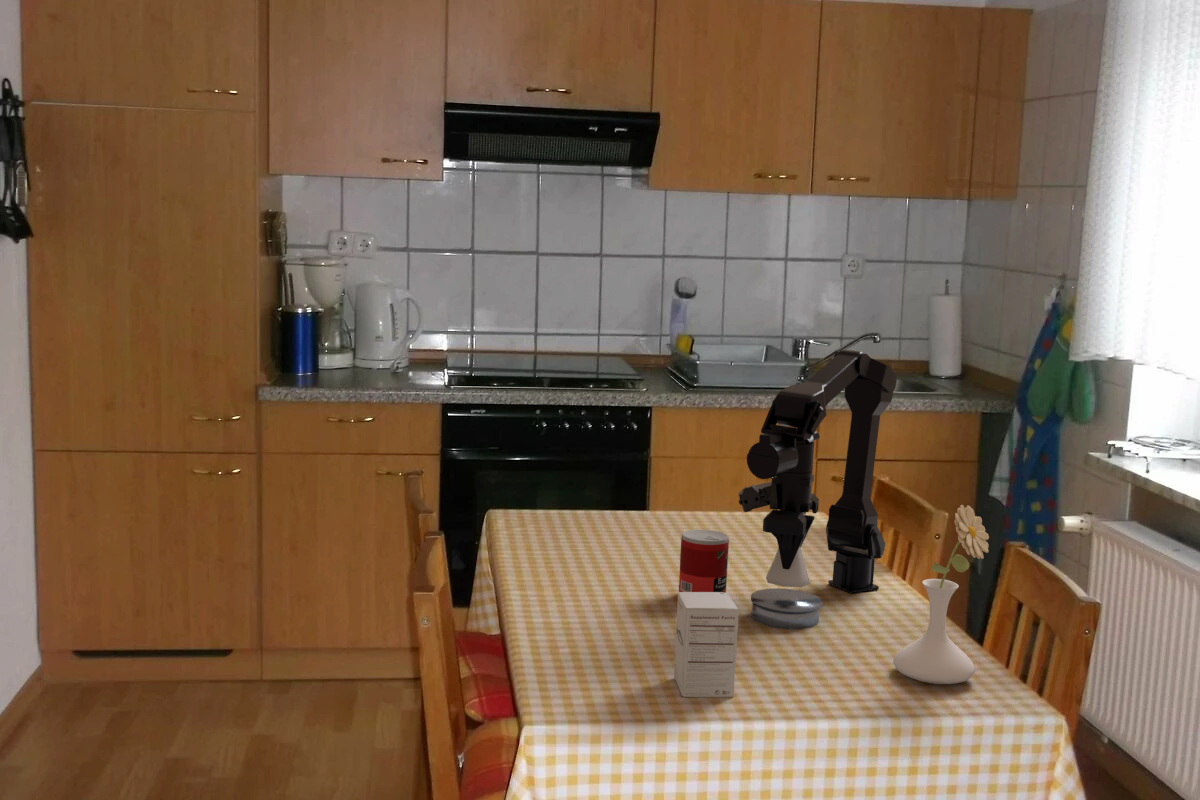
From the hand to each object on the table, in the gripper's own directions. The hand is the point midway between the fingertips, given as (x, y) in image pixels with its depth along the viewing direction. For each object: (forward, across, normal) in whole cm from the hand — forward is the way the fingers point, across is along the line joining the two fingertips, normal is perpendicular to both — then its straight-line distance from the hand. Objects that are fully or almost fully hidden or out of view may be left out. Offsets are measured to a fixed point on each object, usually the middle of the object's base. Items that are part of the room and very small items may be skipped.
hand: (788, 564), depth 209 cm
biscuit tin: (+9, 0, 0) cm, 9 cm away
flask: (+3, 0, 0) cm, 3 cm away
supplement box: (+9, +36, -6) cm, 37 cm away
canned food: (+9, -5, -15) cm, 18 cm away
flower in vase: (+9, +18, +25) cm, 32 cm away
